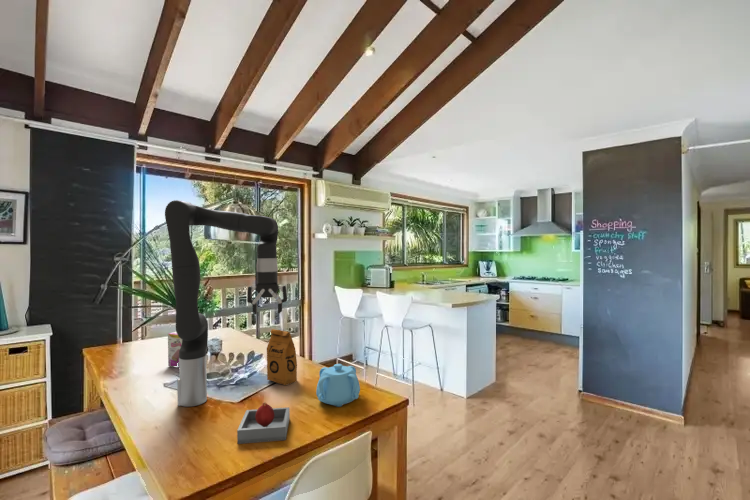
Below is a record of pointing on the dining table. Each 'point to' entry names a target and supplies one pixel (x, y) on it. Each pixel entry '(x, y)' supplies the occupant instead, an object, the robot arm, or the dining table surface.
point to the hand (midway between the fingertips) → (267, 313)
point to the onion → (264, 415)
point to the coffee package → (281, 358)
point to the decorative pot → (338, 385)
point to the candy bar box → (173, 348)
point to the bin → (256, 433)
